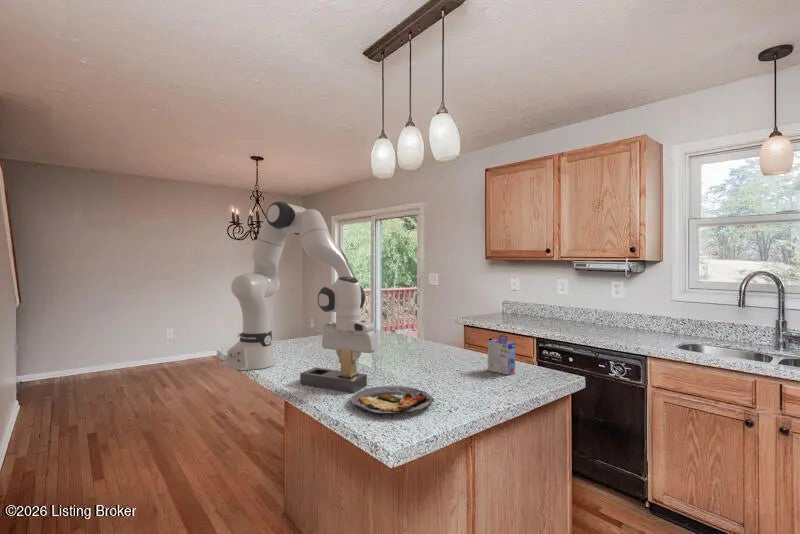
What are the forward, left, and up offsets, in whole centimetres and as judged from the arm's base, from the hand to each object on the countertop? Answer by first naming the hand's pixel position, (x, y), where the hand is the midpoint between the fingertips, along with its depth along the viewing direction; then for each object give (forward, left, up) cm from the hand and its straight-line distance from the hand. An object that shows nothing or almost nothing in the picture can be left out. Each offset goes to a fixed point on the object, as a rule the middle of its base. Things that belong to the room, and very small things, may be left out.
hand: (348, 363), depth 141 cm
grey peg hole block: (-6, 0, -8) cm, 10 cm away
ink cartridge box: (+45, +43, -9) cm, 63 cm away
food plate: (+21, -8, -9) cm, 24 cm away
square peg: (0, 0, -5) cm, 5 cm away
